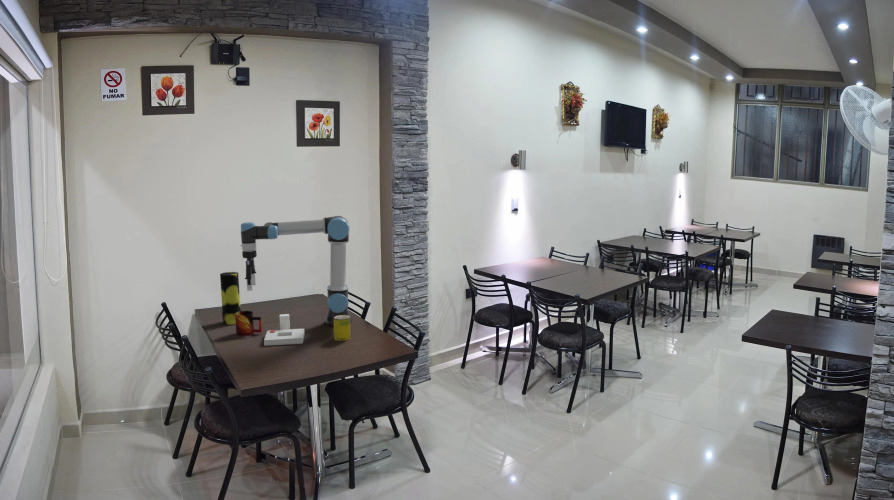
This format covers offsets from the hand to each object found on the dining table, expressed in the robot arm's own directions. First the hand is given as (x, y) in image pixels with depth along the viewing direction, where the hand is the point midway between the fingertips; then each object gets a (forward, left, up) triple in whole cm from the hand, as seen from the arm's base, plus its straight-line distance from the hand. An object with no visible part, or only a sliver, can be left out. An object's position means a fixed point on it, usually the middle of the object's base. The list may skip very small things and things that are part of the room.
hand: (251, 287), depth 346 cm
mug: (+3, 0, -27) cm, 27 cm away
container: (+16, -25, -27) cm, 40 cm away
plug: (-17, +2, -26) cm, 31 cm away
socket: (-18, +16, -26) cm, 35 cm away
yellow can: (-49, +20, -27) cm, 59 cm away
